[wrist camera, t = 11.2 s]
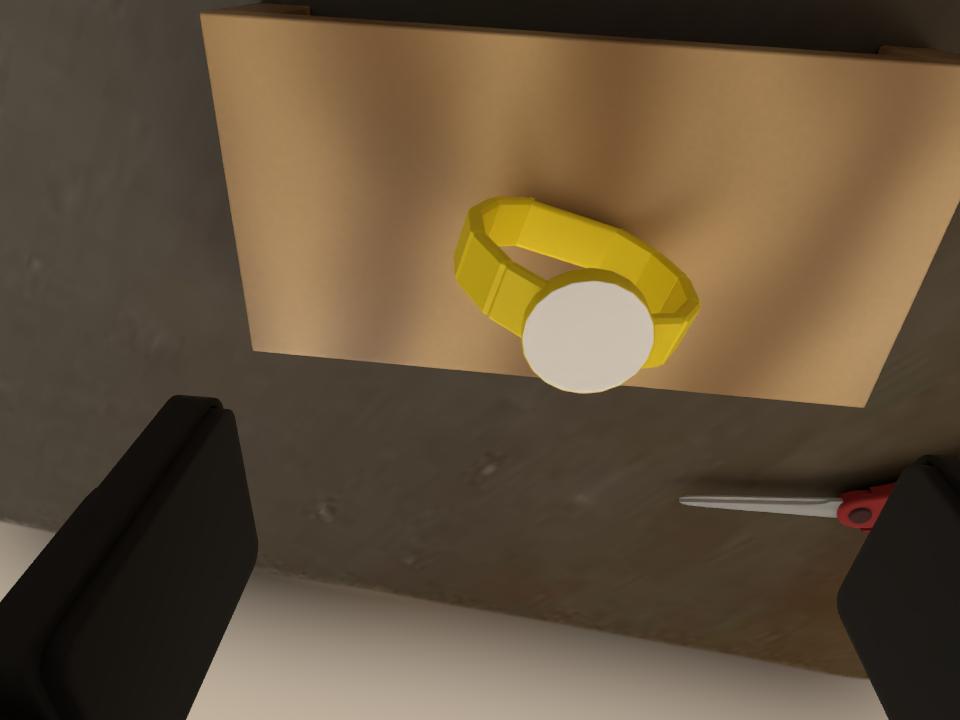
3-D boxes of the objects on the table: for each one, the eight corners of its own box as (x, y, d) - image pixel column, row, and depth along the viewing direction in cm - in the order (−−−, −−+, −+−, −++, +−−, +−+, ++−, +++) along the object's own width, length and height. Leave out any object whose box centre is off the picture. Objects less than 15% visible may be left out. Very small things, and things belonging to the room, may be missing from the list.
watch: (456, 243, 19) (423, 347, 14) (487, 152, 17) (462, 231, 12) (645, 309, 19) (680, 431, 14) (690, 226, 18) (746, 330, 13)
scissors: (989, 553, 28) (1003, 572, 28) (668, 535, 30) (672, 552, 29) (1045, 458, 26) (1062, 476, 25) (687, 442, 27) (691, 458, 26)
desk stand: (292, 298, 25) (251, 351, 21) (258, 2, 20) (198, 11, 16) (820, 345, 24) (864, 408, 21) (936, 48, 19) (1022, 68, 15)
